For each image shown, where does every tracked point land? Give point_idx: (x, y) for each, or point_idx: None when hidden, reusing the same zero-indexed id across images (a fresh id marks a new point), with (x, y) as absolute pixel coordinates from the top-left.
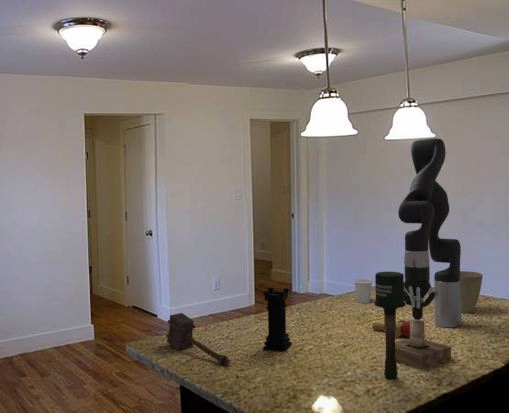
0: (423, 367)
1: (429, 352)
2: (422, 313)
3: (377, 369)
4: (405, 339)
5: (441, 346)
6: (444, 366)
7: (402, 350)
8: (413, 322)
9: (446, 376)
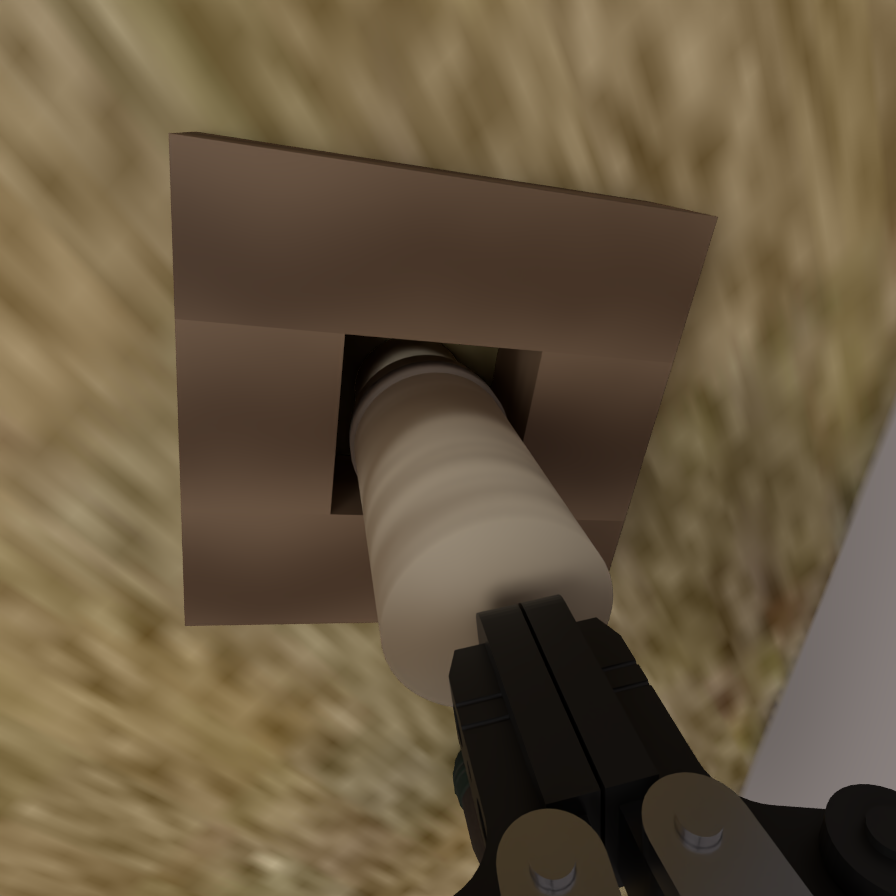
0: None
1: (609, 511)
2: (645, 689)
3: (347, 737)
4: (176, 340)
5: (630, 277)
6: None
7: None
8: None
9: (729, 536)
